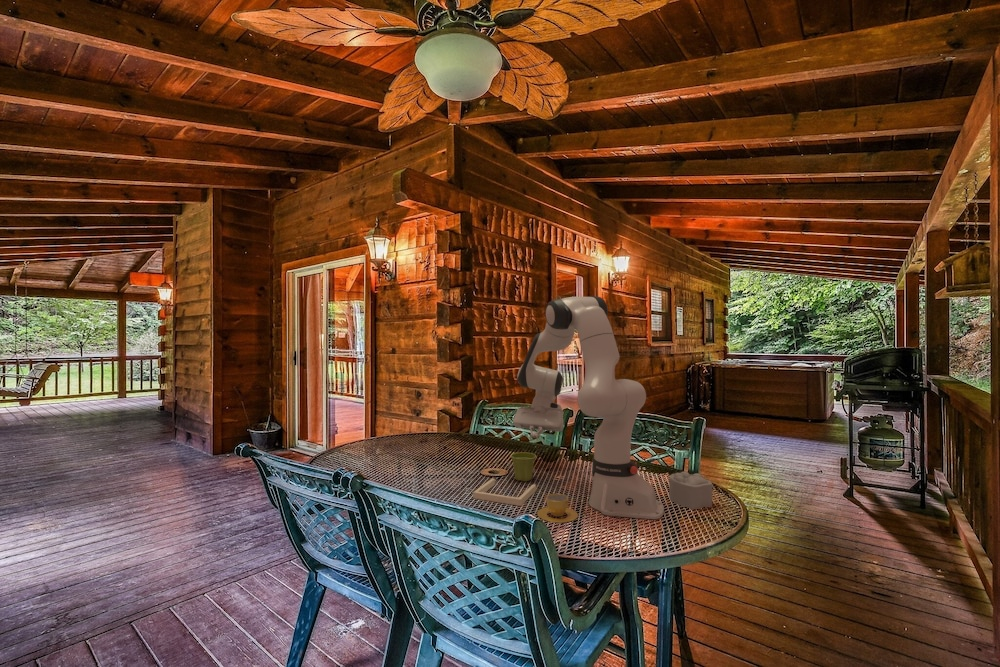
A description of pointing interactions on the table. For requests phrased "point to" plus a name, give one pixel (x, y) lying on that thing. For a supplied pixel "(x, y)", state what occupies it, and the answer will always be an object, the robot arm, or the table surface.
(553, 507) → the cup
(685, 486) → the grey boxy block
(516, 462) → the plant pot
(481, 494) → the frame
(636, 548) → the table surface
